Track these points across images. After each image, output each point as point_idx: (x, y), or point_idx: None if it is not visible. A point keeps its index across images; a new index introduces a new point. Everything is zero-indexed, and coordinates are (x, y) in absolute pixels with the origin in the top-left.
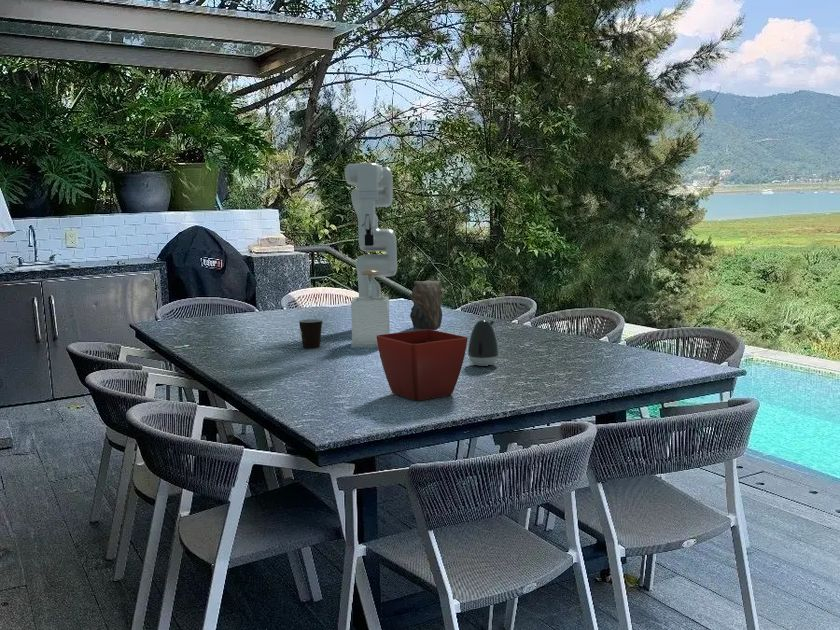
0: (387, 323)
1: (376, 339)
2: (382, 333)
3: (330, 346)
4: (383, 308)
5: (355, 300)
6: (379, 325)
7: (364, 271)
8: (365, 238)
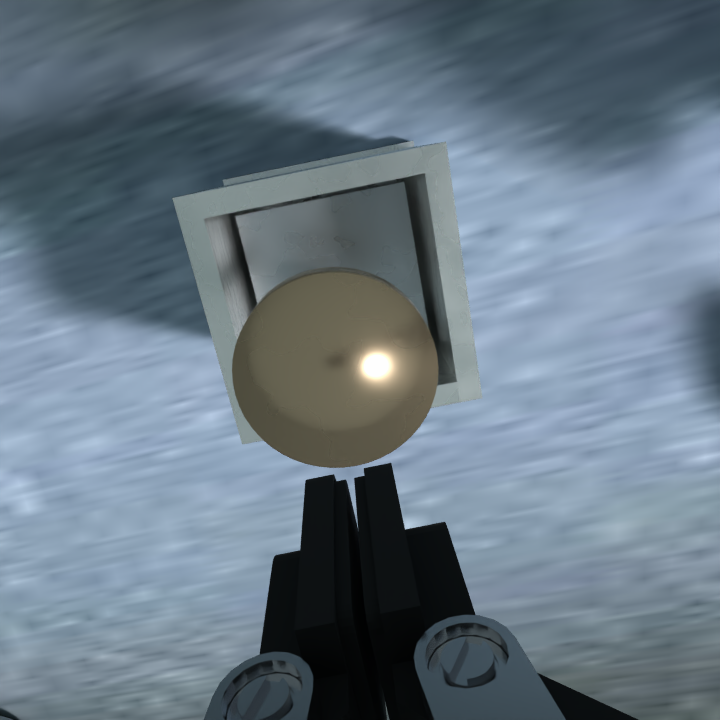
0: None
1: None
2: None
3: (246, 49)
4: None
5: (269, 204)
6: None
7: (245, 344)
8: (305, 582)
